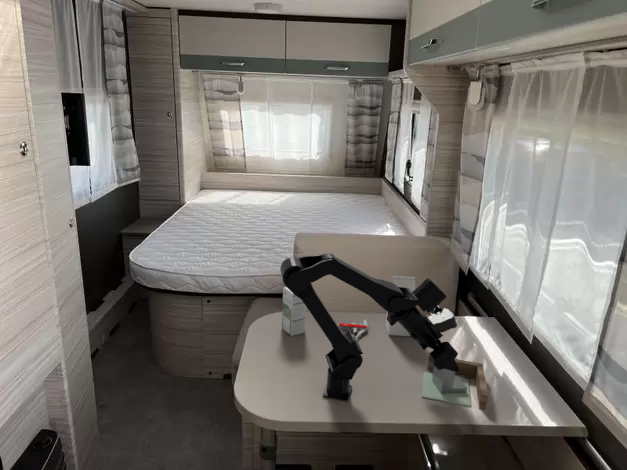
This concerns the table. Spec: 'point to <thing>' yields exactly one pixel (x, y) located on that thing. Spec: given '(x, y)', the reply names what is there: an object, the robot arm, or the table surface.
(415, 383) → the table surface
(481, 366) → the brown wooden corner wall
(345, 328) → the swiss army knife
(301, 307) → the syrup box
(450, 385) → the gray block
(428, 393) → the mat
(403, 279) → the milk carton
